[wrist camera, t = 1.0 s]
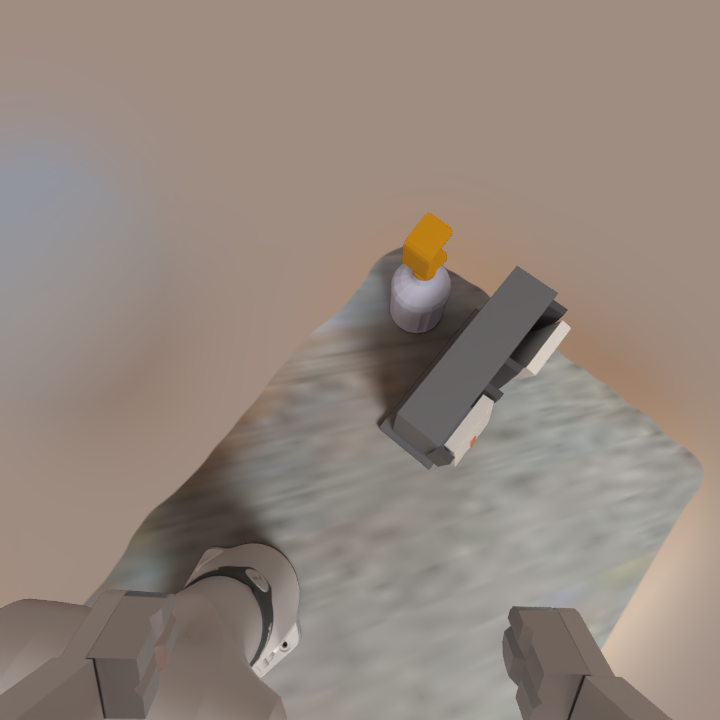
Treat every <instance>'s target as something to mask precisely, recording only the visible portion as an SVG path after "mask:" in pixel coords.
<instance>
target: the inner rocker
mask: <svg viewBox="0 0 720 720" xmlns="http://www.w3.org/2000/svg"><path fill="white" fill-rule="evenodd" d="M493 403H494V401H493V400H491V399H490V398H488V397H487V396H485V395H484V394H483V396H482V397H481V398H480V399H479V401H478V402H477V403H476V405H475V406H474V407H473V409H472V410H471V411H470V412H469V414H468V415H467V416H466V418H465V419H464V420H463V421H462V423H461V424H460V425H459V427H458V428H457V429H456V431H455V432H454V433H453V434H452V436H451V437H450V438H449V440H448V441H447V442H446V443H445V445H444V448H445V449H446V450H447V451H448V452H449V453H451V454H452V455H453V456H454V457H455V458H454V459H453V461H452V462H451V464H452V465H453V466H454V467H455V466H456V465H457V463H458V462H459V461H460V459H461V458H462V457H463V455H464V454H465V453H466V452H467V450H468V449H469V448H470V447H472V445H473V444H474V443H475V441H476V438H477V437H478V436H479V434H480V433H481V432H482V430H483V429H484V428H485V427H486V425H487V424H488V423H489V419H490V415H491V411H492V407H493Z"/></svg>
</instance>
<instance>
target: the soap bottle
mask: <svg viewBox="0 0 720 720" xmlns="http://www.w3.org/2000/svg"><path fill="white" fill-rule="evenodd" d="M451 235H452V229H451V227H449V226H448V225H447V224H445V223H444V222H442V221H441V220H439V219H438V218H437V217H435V216H434V215H432V214H429V213H428V214H426V215H424V217H423V218H422V219H421V220H420V222H419V223H418V224H417V226H416V227H415V228H414V229H413V231H412V232H411V233H410V235H409V236H408V237H407V239H406V241H405V243H404V245H403V254H402V263H403V264H402V265H401V266H400V267H399V268H398V269H397V270H396V271H395V273H394V276H393V278H392V283H391V301H390V313H391V316H392V318H393V321H394V322H395V323H396V324H397V325H398V326H399V327H400V328H402V329H403V330H405V331H407V332H412V333H422V332H426V331H428V330H430V329H432V328H434V327H435V326H436V325H437V323H438V322H439V321H440V319H441V316H442V314H443V311H444V308H445V306H446V303H447V300H448V297H449V295H450V292H451V279H450V277H449V275H448V272H447V270H446V269H445V268H444V267H443V266H442V264H443V263H444V262H445V261H446V259H447V254H446V252H444V251H443V250H441V248H442V247H443V245H444V244H445V243H446V241H448V239H449V238H450V237H451Z"/></svg>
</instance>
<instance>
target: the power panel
mask: <svg viewBox="0 0 720 720" xmlns="http://www.w3.org/2000/svg"><path fill="white" fill-rule="evenodd" d="M557 294H558V293H557V292H556V291H554V290H553V289H551V288H549V287H548V286H546V285H545V284H544V283H542V282H541V281H539V280H538V279H536V278H535V277H533V276H532V275H530V274H529V273H527V272H526V271H524V270H522V269H521V268H520V267H518V266H516V268H515V269H514V270H513V271H512V272H511V274H510V275H509V276H508V277H507V279H506V280H505V281H504V282H503V284H502V285H501V286H500V287H499V288H498V290H497V291H496V292H495V293H494V295H493V296H492V297H491V298H490V299H489V301H488V302H487V303H486V304H485V306H484V307H483V308H482V309H481V311H479V310H478V309H475V310H474V312H473V313H472V314H471V315H470V317H469V318H468V319H467V320H466V321H465V323H464V324H463V325H462V326H461V328H460V329H459V330H458V331H457V332H456V334H455V335H454V336H453V337H452V339H451V340H450V341H449V342H448V344H447V345H446V346H445V347H444V348H443V350H442V351H441V352H440V353H439V355H438V356H437V357H436V358H435V359H434V361H433V362H432V363H431V364H430V366H429V367H428V368H427V369H426V370H425V372H424V373H423V374H422V375H421V377H420V378H419V379H418V380H417V382H416V383H415V384H414V385H413V386H412V388H411V389H410V390H409V391H408V393H407V394H406V395H405V396H404V397H403V399H402V400H401V401H400V402H399V404H398V405H397V406H396V407H395V408H394V410H393V411H392V412H391V413H390V415H389V416H388V417H387V418H386V420H385V421H384V422H383V423H382V424H381V426H380V427H379V429H380V430H382V431H383V432H384V433H385V434H386V435H388V436H389V437H390V438H391V439H392V440H394V441H395V442H396V443H397V444H398V445H400V446H401V447H402V448H403V449H405V450H406V451H407V452H408V453H409V454H411V455H412V456H413V457H414V458H415V459H417V460H418V461H419V462H420V463H421V464H423V465H424V466H425V467H426V468H427V469H430V468H431V467H432V465H433V464H435V465H437V466H443V465H448V464H450V463H451V462H452V461H453V459H454V458H455V457H454V456H453V455H452V454H451V453H449V452H448V451H447V450H446V449H445V448H444V445H445V443H446V442H447V441H448V440H449V438H450V437H451V436H452V434H453V433H454V432H455V431H456V429H457V428H458V427H459V425H460V424H461V423H462V421H463V420H464V419H465V418H466V416H467V415H468V414H469V412H470V411H471V410H472V409H473V407H474V406H475V405H476V403H477V402H478V401H479V399H480V398H481V397H482V396H483V394H484V395H485V396H487V397H488V398H490V399H491V400H493V401H494V403H495V402H497V401H498V400H499V399H500V398H501V397H502V395H503V394H504V393H502V392H501V391H500V390H498V389H499V388H501V387H502V386H503V385H505V384H506V383H507V382H509V381H510V380H511V379H513V378H514V377H515V376H517V375H518V374H519V373H520V372H521V370H522V369H523V368H524V367H522V366H521V365H519V364H518V363H517V362H515V361H514V360H512V359H511V358H510V357H509V356H510V355H511V354H512V352H513V351H514V350H515V348H516V347H517V346H518V345H519V343H520V342H521V341H522V339H523V338H524V337H525V336H526V334H529V333H531V332H534V331H537V330H539V329H542V328H544V327H547V326H549V325H552V324H554V323H555V322H557V321H558V320H559V319H560V318H561V317H562V316H563V315H564V314H565V313H566V311H567V309H566V308H565V307H563V306H561V305H560V304H559V303H557V302H556V301H554V300H553V299H554V298H555V297H556V295H557ZM494 403H493V404H494Z"/></svg>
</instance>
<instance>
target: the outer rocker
mask: <svg viewBox="0 0 720 720" xmlns="http://www.w3.org/2000/svg"><path fill="white" fill-rule="evenodd" d="M570 329H571V328H570V327H569V326H568V325H567V324H566V323H565V322H563V321H560V322H557V323H554V324H552V325H549V326H547V327H544V328H542V329H539V330H537V331H534V332H531V333H529V334H526V336H525V337H524V338H523V339H522V341H521V342H520V343H519V345H518V346H517V347H516V348H515V350H514V351H513V352H512V354H511V355H510V356H509V357H510V358H511V359H512V360H514V361H515V362H517V363H518V364H519V365H521V366H522V367H524V368H523V369H522V370H521V372H520V373H519V374H518V375H517V376H515V377H514V378H513V379H511V380H515V379H520V378H525V377H530V376H535V375H536V374H537V373H538V372H539V370H540V369H541V368H542V366H543V365H544V364H545V362H546V361H547V360H548V358H549V357H550V356H551V354H552V353H553V352H554V350H555V349H556V348H557V346H558V345H559V344H560V342H561V341H562V340H563V338H564V337H565V336H566V334H567V333H568V332H569V330H570Z"/></svg>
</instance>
